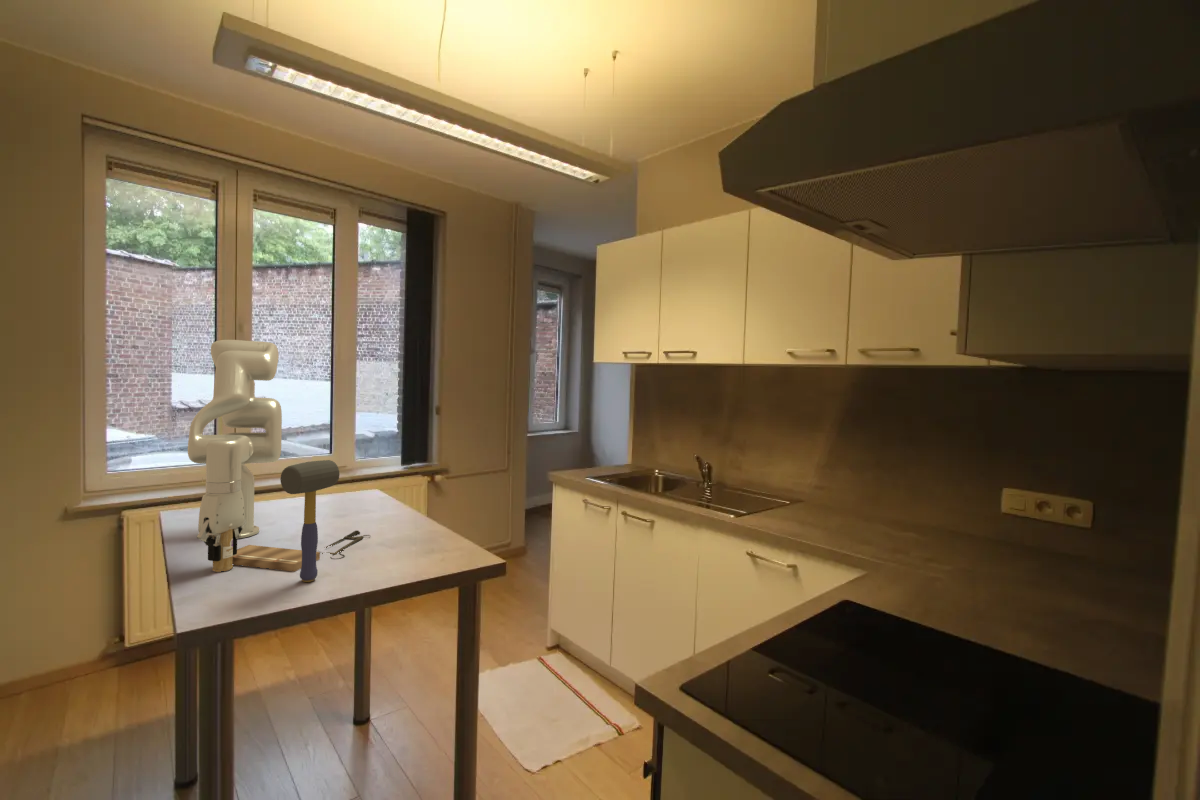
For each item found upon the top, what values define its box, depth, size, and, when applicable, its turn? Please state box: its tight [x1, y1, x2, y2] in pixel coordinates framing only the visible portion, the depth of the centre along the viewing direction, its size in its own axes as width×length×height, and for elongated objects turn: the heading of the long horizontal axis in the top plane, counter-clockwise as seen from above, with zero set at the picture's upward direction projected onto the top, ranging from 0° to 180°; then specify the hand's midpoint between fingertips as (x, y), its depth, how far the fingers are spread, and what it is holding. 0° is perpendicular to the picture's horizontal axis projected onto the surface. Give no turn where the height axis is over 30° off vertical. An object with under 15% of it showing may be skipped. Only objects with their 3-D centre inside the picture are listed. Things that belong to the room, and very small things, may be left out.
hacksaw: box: [321, 530, 371, 560], centre depth 167 cm, size 24×10×2 cm, turn 172°
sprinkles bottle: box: [211, 523, 234, 573], centre depth 143 cm, size 5×5×14 cm
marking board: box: [232, 544, 321, 572], centre depth 151 cm, size 22×10×2 cm, turn 81°
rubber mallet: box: [280, 459, 340, 583], centre depth 138 cm, size 12×8×30 cm, turn 159°
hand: (222, 556), depth 143 cm, fingers closed on sprinkles bottle, 4 cm apart
